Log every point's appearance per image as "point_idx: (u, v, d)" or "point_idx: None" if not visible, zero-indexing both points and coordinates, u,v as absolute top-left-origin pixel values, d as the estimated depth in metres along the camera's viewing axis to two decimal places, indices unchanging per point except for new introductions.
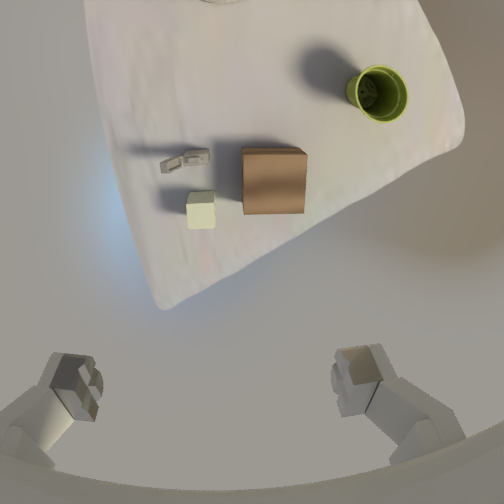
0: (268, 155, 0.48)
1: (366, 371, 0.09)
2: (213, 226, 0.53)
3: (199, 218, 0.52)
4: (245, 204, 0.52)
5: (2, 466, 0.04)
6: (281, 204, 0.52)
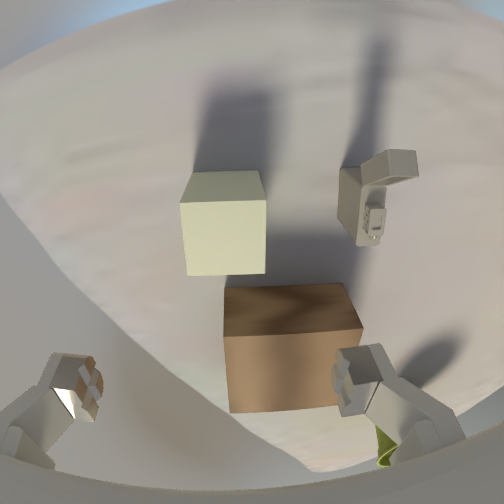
0: None
1: (365, 371, 0.09)
2: (192, 272, 0.18)
3: (216, 235, 0.17)
4: (249, 338, 0.22)
5: (2, 466, 0.04)
6: (248, 388, 0.24)
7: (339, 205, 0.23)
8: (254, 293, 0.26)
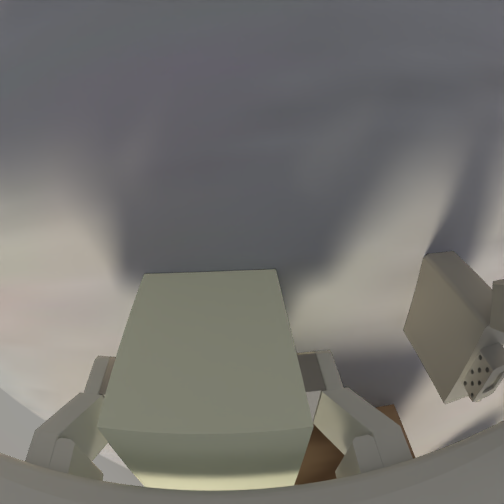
0: None
1: (308, 379, 0.08)
2: None
3: (195, 468, 0.06)
4: None
5: (2, 466, 0.04)
6: None
7: (412, 316, 0.12)
8: None
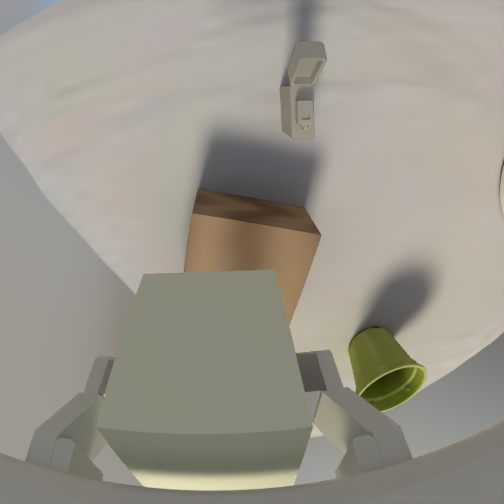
0: (305, 275, 0.27)
1: (308, 379, 0.08)
2: None
3: (194, 468, 0.06)
4: (215, 220, 0.24)
5: (2, 466, 0.04)
6: None
7: (282, 117, 0.25)
8: (224, 196, 0.28)
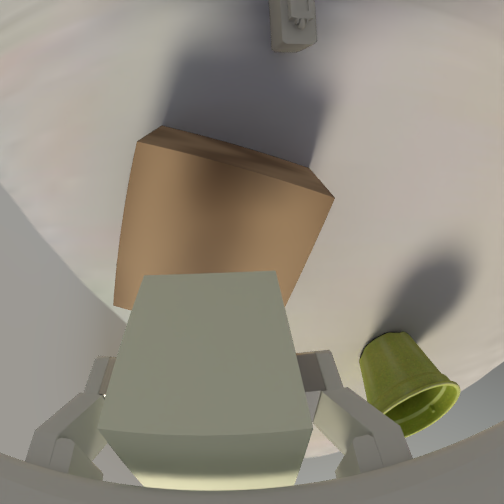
0: (303, 260, 0.17)
1: (308, 379, 0.08)
2: None
3: (195, 469, 0.06)
4: (171, 155, 0.14)
5: (2, 466, 0.04)
6: (147, 259, 0.17)
7: (271, 32, 0.16)
8: (196, 136, 0.18)
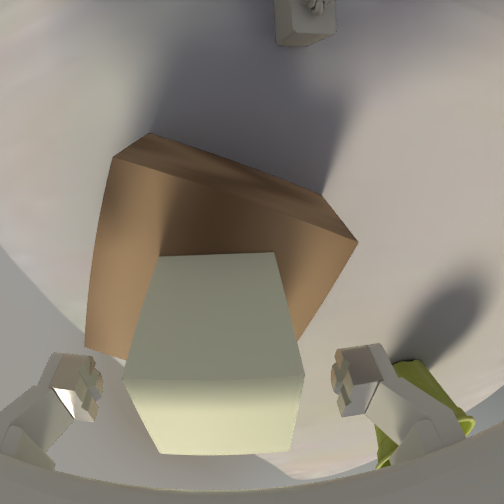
0: (312, 312, 0.14)
1: (366, 371, 0.09)
2: (168, 451, 0.09)
3: (204, 420, 0.08)
4: (156, 177, 0.11)
5: (2, 466, 0.04)
6: (123, 302, 0.13)
7: (275, 21, 0.13)
8: (189, 150, 0.15)
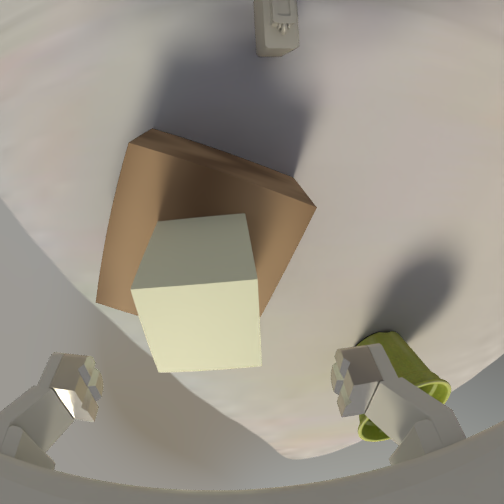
0: (283, 266, 0.18)
1: (366, 371, 0.09)
2: (164, 368, 0.13)
3: (190, 327, 0.12)
4: (160, 157, 0.14)
5: (2, 466, 0.04)
6: (131, 258, 0.17)
7: (256, 37, 0.16)
8: (185, 141, 0.19)
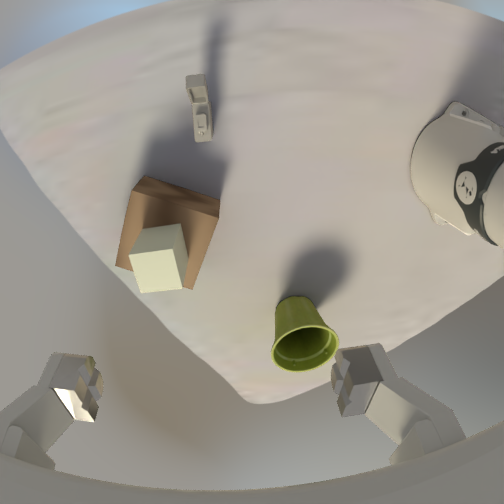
0: (206, 247, 0.36)
1: (365, 371, 0.09)
2: (143, 290, 0.31)
3: (151, 269, 0.30)
4: (146, 197, 0.33)
5: (2, 466, 0.04)
6: (133, 243, 0.35)
7: None
8: (160, 183, 0.37)
